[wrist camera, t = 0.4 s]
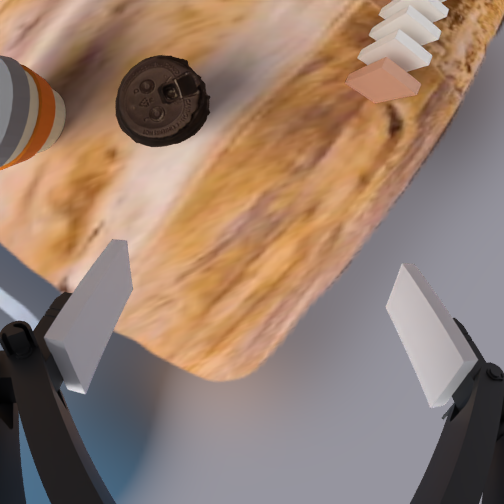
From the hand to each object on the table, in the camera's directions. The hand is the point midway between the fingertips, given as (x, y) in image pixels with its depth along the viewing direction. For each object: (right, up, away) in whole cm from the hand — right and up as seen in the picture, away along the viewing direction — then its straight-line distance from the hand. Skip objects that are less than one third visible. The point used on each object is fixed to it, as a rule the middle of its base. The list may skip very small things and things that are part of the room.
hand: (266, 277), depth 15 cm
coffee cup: (-10, +17, +21) cm, 29 cm away
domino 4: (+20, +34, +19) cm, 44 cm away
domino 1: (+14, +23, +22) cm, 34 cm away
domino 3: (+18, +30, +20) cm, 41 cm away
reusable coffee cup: (-29, +19, +18) cm, 39 cm away
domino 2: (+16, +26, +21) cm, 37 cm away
